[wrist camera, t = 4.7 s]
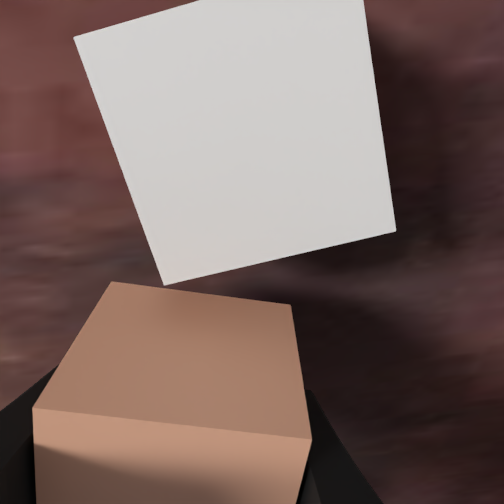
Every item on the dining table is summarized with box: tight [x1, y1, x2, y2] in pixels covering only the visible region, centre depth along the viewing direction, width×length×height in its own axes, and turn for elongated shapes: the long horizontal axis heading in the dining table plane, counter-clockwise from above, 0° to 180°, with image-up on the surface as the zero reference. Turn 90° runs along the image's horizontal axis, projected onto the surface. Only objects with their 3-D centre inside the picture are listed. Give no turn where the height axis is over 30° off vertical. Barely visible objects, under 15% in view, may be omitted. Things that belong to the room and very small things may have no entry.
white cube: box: [73, 0, 396, 285], centre depth 11 cm, size 5×5×5 cm
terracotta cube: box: [32, 282, 312, 504], centre depth 10 cm, size 4×4×4 cm
